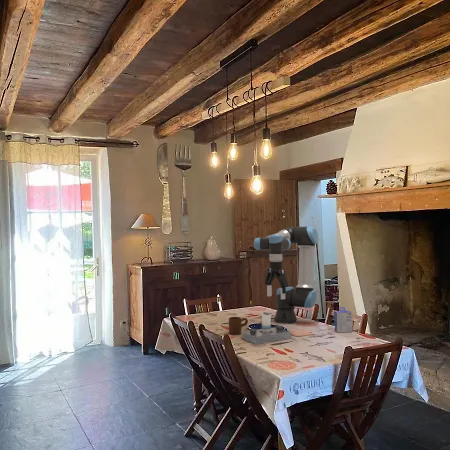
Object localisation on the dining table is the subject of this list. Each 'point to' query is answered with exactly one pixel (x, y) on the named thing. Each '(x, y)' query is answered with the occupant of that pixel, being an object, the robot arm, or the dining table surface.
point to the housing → (266, 336)
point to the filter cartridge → (266, 323)
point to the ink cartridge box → (343, 320)
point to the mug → (236, 325)
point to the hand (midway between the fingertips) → (276, 297)
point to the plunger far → (279, 327)
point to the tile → (300, 333)
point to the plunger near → (253, 331)
